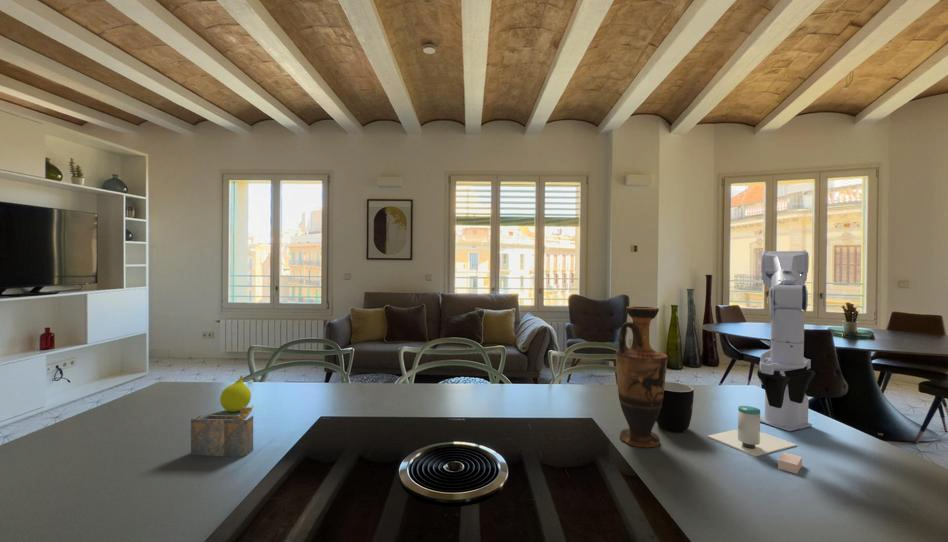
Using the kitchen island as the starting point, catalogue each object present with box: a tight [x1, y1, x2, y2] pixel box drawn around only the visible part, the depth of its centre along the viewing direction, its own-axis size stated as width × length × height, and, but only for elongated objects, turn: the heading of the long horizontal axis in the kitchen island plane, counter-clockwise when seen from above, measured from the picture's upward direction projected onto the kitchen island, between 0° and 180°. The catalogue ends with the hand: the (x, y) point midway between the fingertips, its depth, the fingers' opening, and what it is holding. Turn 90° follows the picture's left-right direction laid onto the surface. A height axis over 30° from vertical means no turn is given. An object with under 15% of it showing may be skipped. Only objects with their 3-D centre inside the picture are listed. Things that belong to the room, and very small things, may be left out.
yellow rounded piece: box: [219, 375, 252, 413], centre depth 112 cm, size 7×7×10 cm
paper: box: [706, 428, 798, 457], centre depth 96 cm, size 14×11×1 cm
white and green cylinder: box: [737, 405, 761, 449], centre depth 92 cm, size 4×4×8 cm
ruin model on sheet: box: [190, 405, 254, 457], centre depth 87 cm, size 11×3×10 cm, turn 89°
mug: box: [655, 381, 695, 434], centre depth 105 cm, size 12×9×10 cm
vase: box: [615, 305, 669, 448], centre depth 96 cm, size 11×11×30 cm
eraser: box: [777, 451, 803, 475], centre depth 84 cm, size 5×3×2 cm, turn 134°
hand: (785, 404), depth 91 cm, fingers open, 7 cm apart
